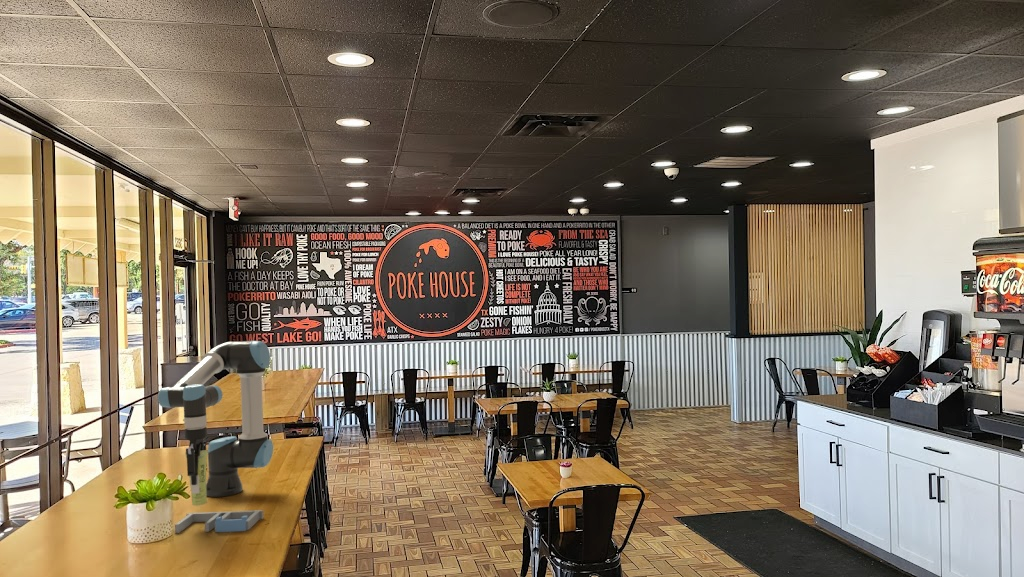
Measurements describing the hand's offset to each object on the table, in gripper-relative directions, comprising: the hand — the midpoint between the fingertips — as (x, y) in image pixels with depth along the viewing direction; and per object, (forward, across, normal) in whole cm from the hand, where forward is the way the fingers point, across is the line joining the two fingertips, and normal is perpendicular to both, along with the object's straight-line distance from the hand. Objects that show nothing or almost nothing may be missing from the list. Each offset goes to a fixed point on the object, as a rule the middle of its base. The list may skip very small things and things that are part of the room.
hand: (198, 490), depth 273 cm
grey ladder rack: (+13, 0, +7) cm, 15 cm away
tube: (+5, 0, 0) cm, 5 cm away
